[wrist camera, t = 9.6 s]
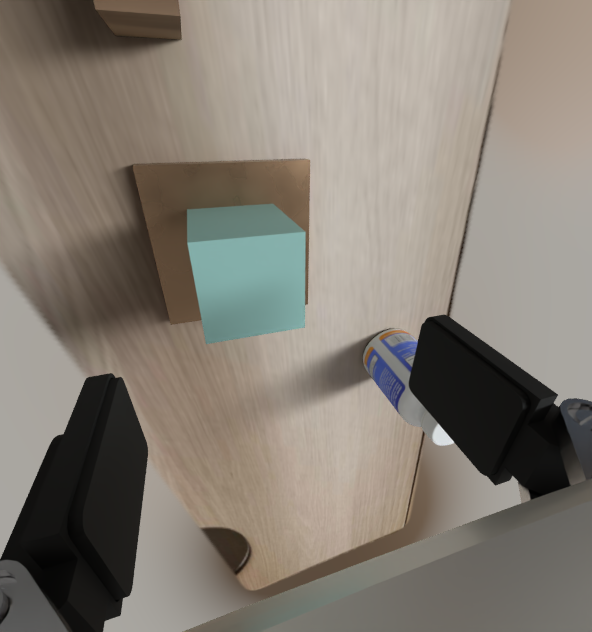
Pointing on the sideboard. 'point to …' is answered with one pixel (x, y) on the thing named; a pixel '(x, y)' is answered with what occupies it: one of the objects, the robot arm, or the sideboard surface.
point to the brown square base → (210, 192)
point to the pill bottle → (400, 379)
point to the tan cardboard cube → (141, 17)
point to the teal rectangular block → (247, 270)
